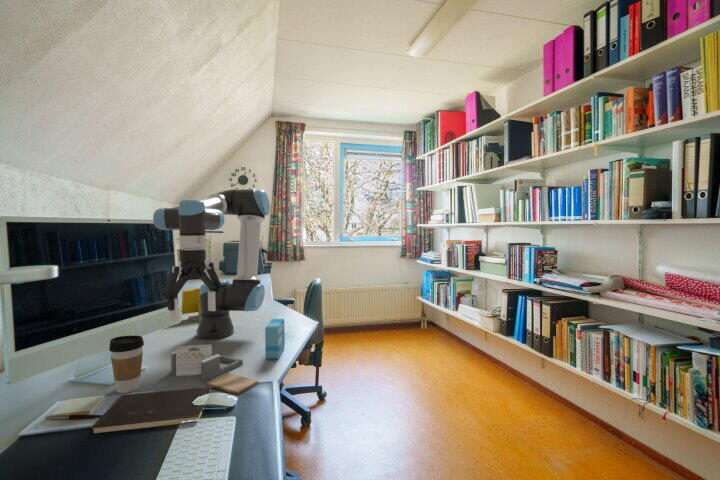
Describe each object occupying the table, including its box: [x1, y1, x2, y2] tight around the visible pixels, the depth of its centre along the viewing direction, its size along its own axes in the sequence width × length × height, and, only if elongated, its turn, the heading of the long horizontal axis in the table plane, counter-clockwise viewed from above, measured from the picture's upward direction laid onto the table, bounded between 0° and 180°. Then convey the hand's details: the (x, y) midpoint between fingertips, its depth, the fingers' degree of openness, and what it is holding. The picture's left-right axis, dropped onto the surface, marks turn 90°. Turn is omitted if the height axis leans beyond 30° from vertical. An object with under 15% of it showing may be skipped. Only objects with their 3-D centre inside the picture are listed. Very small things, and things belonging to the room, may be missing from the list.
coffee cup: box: [108, 335, 145, 394], centre depth 102 cm, size 8×8×15 cm
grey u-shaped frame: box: [169, 349, 244, 383], centre depth 117 cm, size 16×16×6 cm
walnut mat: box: [205, 371, 259, 395], centre depth 105 cm, size 13×8×1 cm, turn 63°
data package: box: [264, 318, 286, 360], centre depth 129 cm, size 12×4×12 cm, turn 1°
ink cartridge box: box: [175, 343, 213, 377], centre depth 112 cm, size 2×11×10 cm, turn 100°
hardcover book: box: [90, 386, 213, 434], centre depth 90 cm, size 16×23×2 cm
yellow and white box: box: [180, 287, 201, 322], centre depth 178 cm, size 20×8×16 cm, turn 130°
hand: (194, 315), depth 112 cm, fingers open, 13 cm apart
